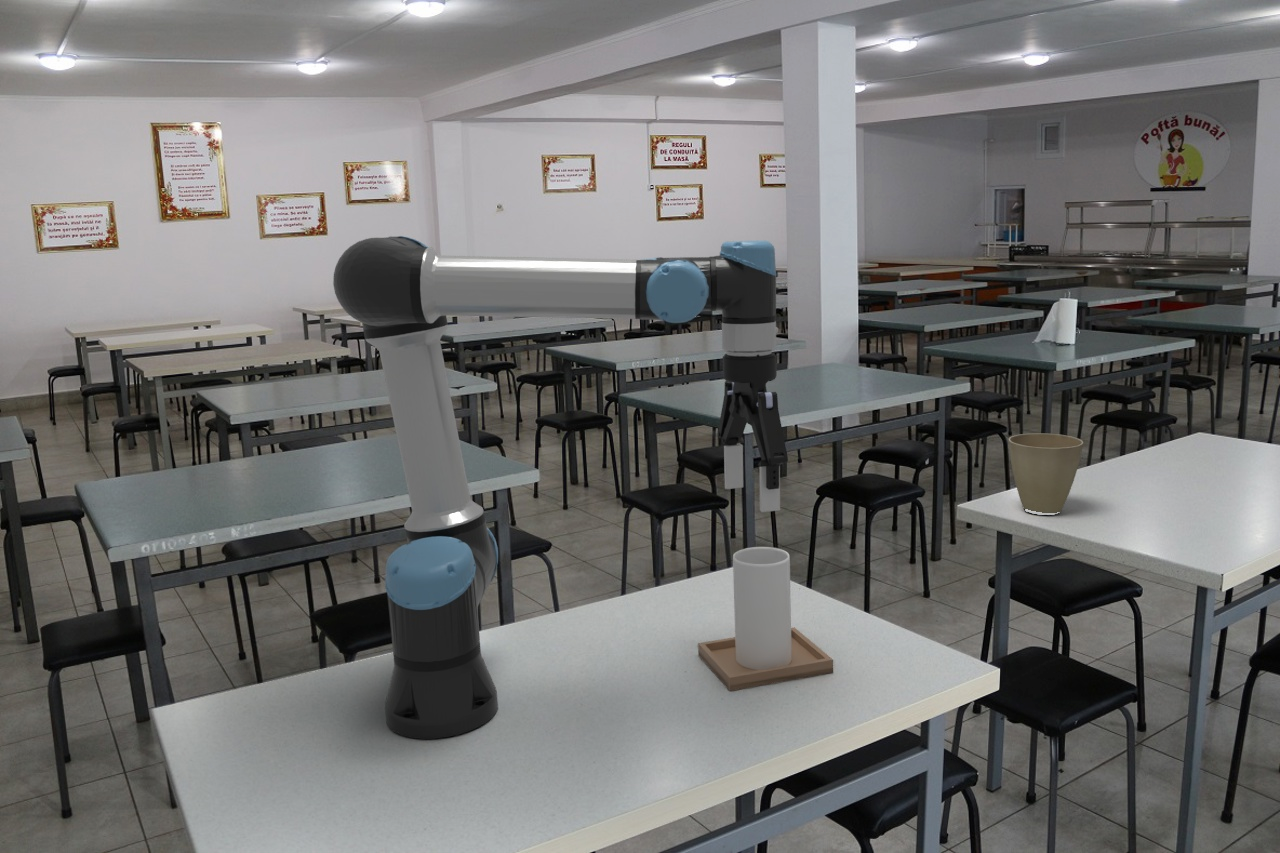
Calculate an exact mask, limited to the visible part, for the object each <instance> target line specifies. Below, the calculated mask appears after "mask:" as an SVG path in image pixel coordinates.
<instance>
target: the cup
mask: <svg viewBox="0 0 1280 853" xmlns="http://www.w3.org/2000/svg"><path fill="white" fill-rule="evenodd" d="M790 558H791V555H790V554H789V552H787V551H786V550H785V549H781V548H778V547H772V546H771V547H770V546H753V547H746V548H742V549H740V550H737V551H736V552H734V553H733V555H732V572H733V573H732V575H733V580H732V581H733V605H734V606H733V607H734V609H733V610H734V637H735V645H736V661H737V662H738V663H739V664H740V665H741V666H743V667H746V668H749V669H754V670H762V669H768V668H774V667H779V666H785V665H788V664H789V663H790V662H791V660H792V647H791V628H792V613H791V612H792V606H791V605H792V604H791V602H792V601H791V599H792V598H791V561H790V560H791V559H790Z"/></svg>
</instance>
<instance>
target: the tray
mask: <svg viewBox="0 0 1280 853" xmlns="http://www.w3.org/2000/svg"><path fill="white" fill-rule="evenodd" d="M791 647H792V660H791V662H790V663H789V664H788V665H785V666H779V667H774V668H768V669H762V670H754V669H749V668H746V667H743V666H741V665H740V664H739V663H738V662H737V661H736V645H735V636H734V637H733V636H732V637H729V638H728V637H727V638H721V639H716V640H710V641H704V642H698V643H697V650H698V654H697V655H698V657H699V658H700V660H702V661H703V662H704V664H706V666H707V667H708V668H709V669H710V670H711V671H712V672H713V674H714V675H715V677H716V678H717V679H718V680H720V682H722V684H723V686H725V687H726V688H727V690H728V691H729V692H733V691H739V690H743V689H749V688H755V687H760V686H767V685H771V684H773V685H774V684H777V683H783V682H788V681H794V680H800V679H805V678H811V677H816V676H821V675H827V674H828V675H829V674H833V673H834V659H833V658H832V657H831V656H830V655H828V654H827V653H826V652H825V651H823V650H822V649H821V648H820V647H819V646H817V645H816V644H815V643H814V642H813V641H811V639H809V638H808V637H807V636H805V635H804V634H803V633H802V632H801V631H799V630H798V629H797V628H796V627H791Z"/></svg>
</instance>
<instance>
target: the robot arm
mask: <svg viewBox="0 0 1280 853" xmlns="http://www.w3.org/2000/svg"><path fill="white" fill-rule="evenodd" d="M775 251H776V250H775V246H774V245H773V243H771V242H770V241H768V240H738V241H734V240H733V241H725V242H723V243H721V246H720V252H719V255H714V256H705V257H704V256H702V257H701V256H700V257H698V256H696V257H695V256H693V257H692V256H691V257H689V256H688V257H685V256H683V257H682V256H680V257H662V256H661V257H659V256H658V257H654V258H643V259H642V258H641V259H627V258H626V259H623V258H622V259H619V258H618V259H617V258H613V259H612V258H575V257H574V258H571V257H570V258H569V257H530V256H529V257H526V256H523V257H521V256H520V257H519V256H481V255H480V256H479V255H476V256H475V255H472V256H471V255H441V254H440V253H438V252H437V251H436V250H435V249H434V248H433V247H430V246H427V245H426V244H425V243H422V242H421V241H419V240H416V238H415V239H414V238H411V237H408V236H403V235H399V236H392V235H391V236H388V237H369V238H365V239H362V240H359V241H357V242H355V243H353V244H352V245H350V246H349V247H348V248H347V249H346V250H345V251H344V252H343V253H342V255H340V257H339V259H338V260H337V263H336V265H335V268H334V272H333V281H332V282H333V283H332V284H333V290H334V294H335V297H336V299H337V301H338V303H339V304H340V306H341V308H342V309H343V310H344V311H345V312H346V313H347V315H349V316H350V317H351V318H353V319H354V320H356V321H358V322H360V323H361V325H362V329H363V330H362V331H363V335H364V338H365V341H366V342H367V343H368V344H370V345H372V347H375V349H377V351H379V352H378V353H379V356H380V360H381V366H382V372H383V376H384V381H385V386H386V391H387V395H388V400H389V404H390V411H391V415H392V421H393V425H394V429H395V434H396V438H397V439H396V440H397V444H398V448H399V453H400V458H401V459H400V460H401V463H402V468H403V469H402V470H403V473H404V478H405V484H406V487H407V492H408V497H409V503H410V507H411V514H410V516H409V517H408V518H407V519H406V522H405V523H404V524H403V525H404V526H403V527H404V531H405V537H406V539H407V544H406V543H405V544H402V545H400V546H399V547H398V548H396V549H395V550H394V551H392V553H391V554H390V555H389V557H388V559H387V561H386V564H385V576H384V584H385V586H384V587H385V588H384V589H385V591H386V594H387V595H386V596H387V605H388V613H389V614H388V615H389V624H390V636H391V642H392V644H391V645H392V655H393V670H392V675H391V678H390V682H389V687H388V691H387V694H386V698H385V704H384V710H385V722H386V725H387V727H388V728H389V730H391V731H393V732H394V733H396V734H398V735H400V736H403V737H407V738H414V739H425V740H426V739H427V740H428V739H431V740H432V739H441V738H442V739H443V738H449V737H454V736H458V735H462V734H464V733H468V732H470V731H473V730H475V729H478V728H479V727H481V726H483V725H485V724H486V723H488V722H489V721H490V720H491V719H492V718H493V717H494V716H495V715H496V713H497V711H498V707H499V704H498V691H497V688H496V685H495V683H494V681H493V678H492V676H491V674H490V672H489V669H488V667H487V665H486V662H485V661H484V658H483V656H482V650H481V638H480V637H481V635H480V626H479V624H480V623H479V605H480V603H481V601H482V599H483V598H484V595H485V594H486V591H487V590H488V588H489V586H490V584H491V583H492V582H493V581H494V580H493V579H494V578H495V575H496V572H497V568H498V566H497V565H498V564H499V547H498V545H497V544H498V543H497V541H496V538H495V537H494V534H493V533H492V531H491V530H490V528H489V527H488V526H487V521H486V516H485V511H484V509H483V507H482V506H481V505H479V504H478V503H477V502H474V501H473V500H472V497H471V492H470V488H469V484H468V478H467V473H466V468H465V463H464V462H465V461H464V459H463V453H462V452H463V451H462V448H461V442H460V438H459V432H458V427H457V422H456V417H455V411H454V407H453V402H452V400H453V399H452V396H451V391H450V390H451V389H450V385H449V379H448V376H447V370H446V364H445V360H444V355H443V350H442V345H441V340H442V336H443V335H444V334H445V333H446V331H447V329H448V328H449V325H448V318H447V316H449V317H450V316H452V317H454V316H456V317H503V318H504V317H505V318H506V317H511V318H513V317H514V318H515V317H516V318H525V317H526V318H559V319H560V318H565V319H566V318H567V319H573V318H574V319H613V320H614V319H623V320H625V319H626V320H628V319H629V320H644V321H645V320H651V321H653V320H654V321H656V320H657V321H664V322H667V323H670V324H671V323H672V324H681V323H687V322H690V321H692V320H693V319H695V318H696V317H697V316H698V315H699V314H700V313H701V312H716V311H721V314H722V318H721V349H722V350H723V351H724V352H726V353H725V354H723V356H722V377H723V380H725V381H724V392H723V393H724V396H723V401H722V406H721V412H720V413H721V414H720V418H719V423H718V429H717V437H718V438H719V439H721V443H722V445H723V457H724V458H723V460H724V461H723V462H724V463H723V465H724V466H723V467H724V470H723V471H724V474H723V475H724V489H725V490H731V489H739V488H744V454H743V453H744V445H743V444H744V443H745V441H744V438H743V434H744V432H745V430H746V427H747V426H746V425H747V424H748V425H750V426H751V428H752V429H751V430H752V432H753V436H754V439H755V442H756V445H757V449H758V452H759V455H760V459H761V460H760V461H759V462H758V464H757V466H758V467H759V468H758V470H759V477H758V478H759V512H761V513H768V512H775V511H776V512H777V511H781V465H782V464H787V463H788V461H789V456H788V454H787V453H788V452H787V447H786V442H785V437H784V432H783V426H782V422H781V417H780V412H779V403H778V402H779V401H778V399H779V398H778V393H777V392H776V391H771V392H769V391H767V383H768V382H773V381H775V379H776V378H777V374H778V373H777V370H778V369H777V355H776V353H775V352H772V351H774V350H775V349H776V348H777V334H778V333H779V327H777V271H776V270H777V269H776V266H777V265H776V255H775V254H776V253H775Z"/></svg>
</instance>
